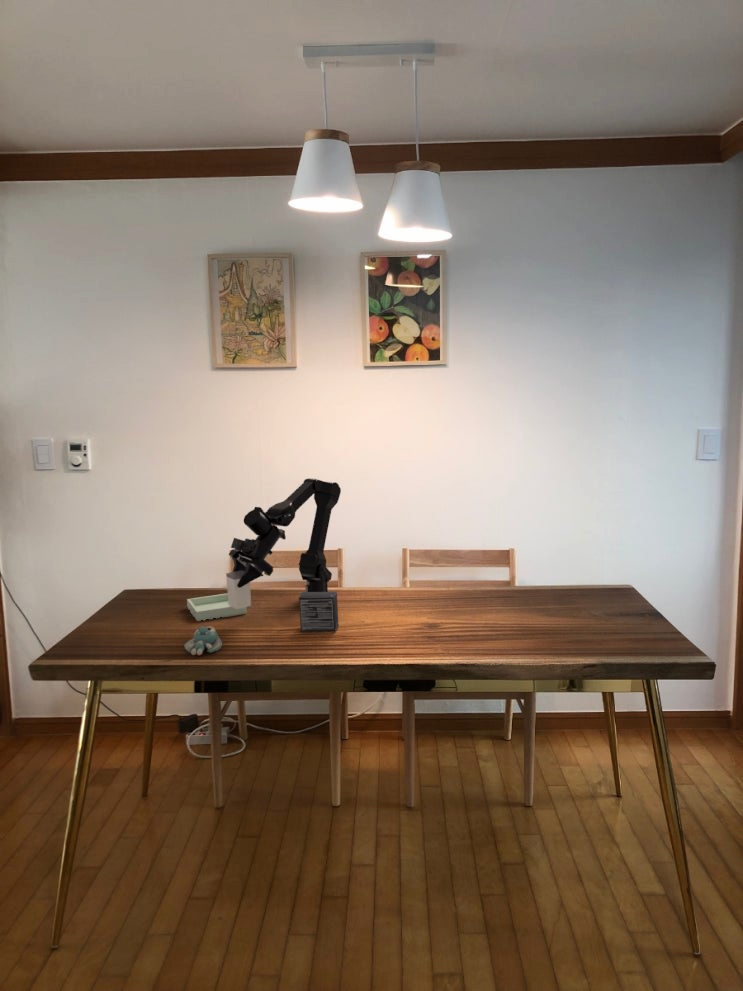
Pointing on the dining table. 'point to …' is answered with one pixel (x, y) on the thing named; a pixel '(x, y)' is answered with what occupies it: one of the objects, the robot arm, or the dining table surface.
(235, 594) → the grey upright pillar
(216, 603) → the tray
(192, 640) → the stuffed animal
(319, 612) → the small box
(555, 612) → the dining table surface
